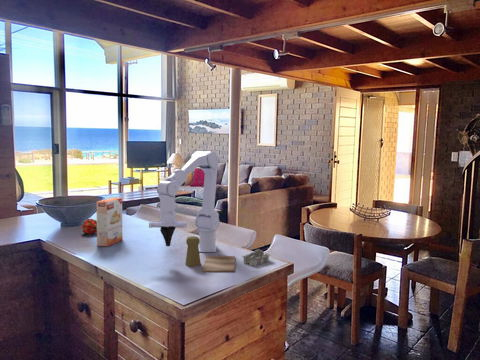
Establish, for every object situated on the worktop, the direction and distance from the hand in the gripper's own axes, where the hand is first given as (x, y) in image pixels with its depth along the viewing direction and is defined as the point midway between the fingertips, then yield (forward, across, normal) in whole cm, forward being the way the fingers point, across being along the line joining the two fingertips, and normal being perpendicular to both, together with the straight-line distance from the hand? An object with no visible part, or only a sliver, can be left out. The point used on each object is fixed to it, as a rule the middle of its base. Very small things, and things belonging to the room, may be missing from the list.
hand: (168, 245), depth 152 cm
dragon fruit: (+8, -49, +49) cm, 70 cm away
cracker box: (+8, -33, +31) cm, 46 cm away
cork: (+8, +10, 0) cm, 12 cm away
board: (+7, +20, 0) cm, 22 cm away
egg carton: (+8, +35, +4) cm, 36 cm away
